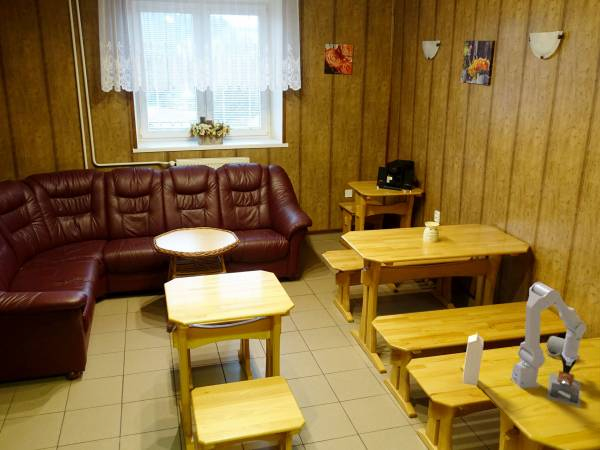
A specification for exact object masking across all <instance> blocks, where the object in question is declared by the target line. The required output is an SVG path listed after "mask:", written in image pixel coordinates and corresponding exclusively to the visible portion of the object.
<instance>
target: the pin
mask: <svg viewBox="0 0 600 450" xmlns="http://www.w3.org/2000/svg"><path fill="white" fill-rule="evenodd" d="M557 375H558V380H557V381H558V382H561V383H564V384H568V385H572V384H573V380H575V374H572V373H566V372H563V370H561V371H560V370H559V371H558V374H557Z"/></svg>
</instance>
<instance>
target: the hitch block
mask: <svg viewBox="0 0 600 450" xmlns="http://www.w3.org/2000/svg"><path fill="white" fill-rule="evenodd" d="M559 391H563V392H566V393H570V402H573V403H578V398H579V390H578V389H574V388H572V386H571V385H568V384H564V383H560V384H555V383H552V386H551V392H550V396H552V397H555V398H557V397H558V392H559Z"/></svg>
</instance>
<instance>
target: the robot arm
mask: <svg viewBox="0 0 600 450" xmlns="http://www.w3.org/2000/svg"><path fill="white" fill-rule="evenodd" d="M528 292H529V293H528V295H529V296H528V299H527V302H526V305H525V328H524V329H525V330H524V331H525V334H524V335H525V336H524V341H523V342H520V345H519V346H520V347H519V348H518V351H517V355H518V357H519V362H517V363H515V364H514V365H513V366H512V372H511V377H509V378H510V380H511V381H512V382H514V383H515V384H516V385H517V386H518V387H519V388H520V389H526V388H538V387H541V385H540V384H539V383H538V382H537V381H538V380H537V379H538V374H539V369H540V368H541V367H542V366H543V365H544V364H545V362H546V359H545V358H546V357H545V356H544V355H545V354H544V351H543V349H542V347H541V345H540V340H541V318H542V317H541V316H542V311H545V310H547V309H549V307H551V306H555V308H556V309H557V310H558V315H559V317H560V318H561V320H562V321H563V323H564V327H565V328H566V334H565V338H564V339H565V342H564V347H563V352H562V355H561V358H560V360H561V363H562V372H566V373H570V372H571V370H572V368H573V367H574V366H575V365H576V363H577V360H578V359H579V360H580V359H581V356H580V355H579V354H578V353H579V349H580V344H581V339H582V337H583V335H584V334H585V333H586V332H587V326H586V323H585V322H583V321H582V320H581V317H580V316H579V315H577V313H576V310H575V308H573V307H570V306H567V304H566V303H565V301H564V299H563V298H562V295H561V294H560V292H559V291H558V290H557V289H553V288H552V287H549V286H548V285H546V284H544V283H543V282H541V281H536V282H534V283H533V284H532V286H530V287H529V291H528ZM570 374H571V373H570Z"/></svg>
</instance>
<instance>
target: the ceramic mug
mask: <svg viewBox="0 0 600 450" xmlns="http://www.w3.org/2000/svg"><path fill="white" fill-rule="evenodd" d="M564 342H565V338H562V337H558V336H555V335H551V336H549V338H548V340H547V342H546V355H548V356H549V357H550V358H558V357H560V356H562V352H563V347H564ZM549 351H550V352H552V353H555V354H552V353H550V352H549Z"/></svg>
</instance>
